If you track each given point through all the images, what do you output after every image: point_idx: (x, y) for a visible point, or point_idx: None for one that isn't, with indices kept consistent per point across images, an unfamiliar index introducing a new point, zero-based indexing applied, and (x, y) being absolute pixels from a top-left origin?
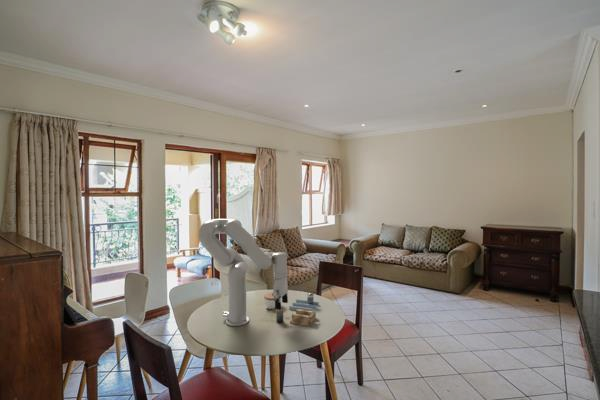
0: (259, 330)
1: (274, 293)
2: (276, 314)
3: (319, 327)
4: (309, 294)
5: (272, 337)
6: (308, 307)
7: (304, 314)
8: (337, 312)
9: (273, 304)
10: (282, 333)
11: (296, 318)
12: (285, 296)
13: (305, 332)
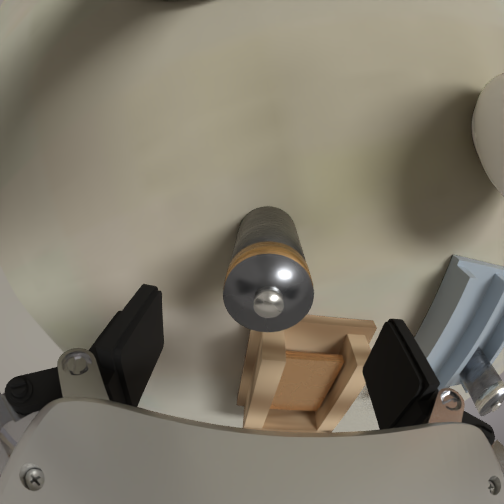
0: (90, 135)
1: (18, 470)
2: (253, 230)
3: (237, 418)
4: (493, 402)
5: (54, 246)
6: (450, 361)
7: (322, 393)
8: None
9: (489, 149)
10: (106, 288)
11: (256, 366)
12: (390, 420)
13: (166, 381)
